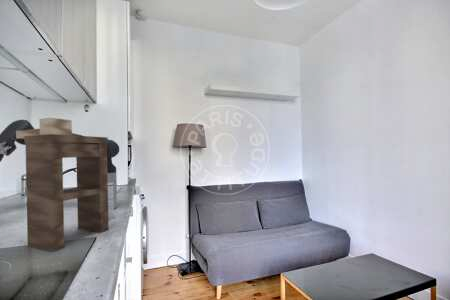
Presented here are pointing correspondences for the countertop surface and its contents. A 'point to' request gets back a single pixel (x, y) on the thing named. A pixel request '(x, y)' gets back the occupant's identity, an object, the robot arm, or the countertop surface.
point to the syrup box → (110, 201)
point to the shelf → (53, 187)
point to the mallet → (48, 128)
